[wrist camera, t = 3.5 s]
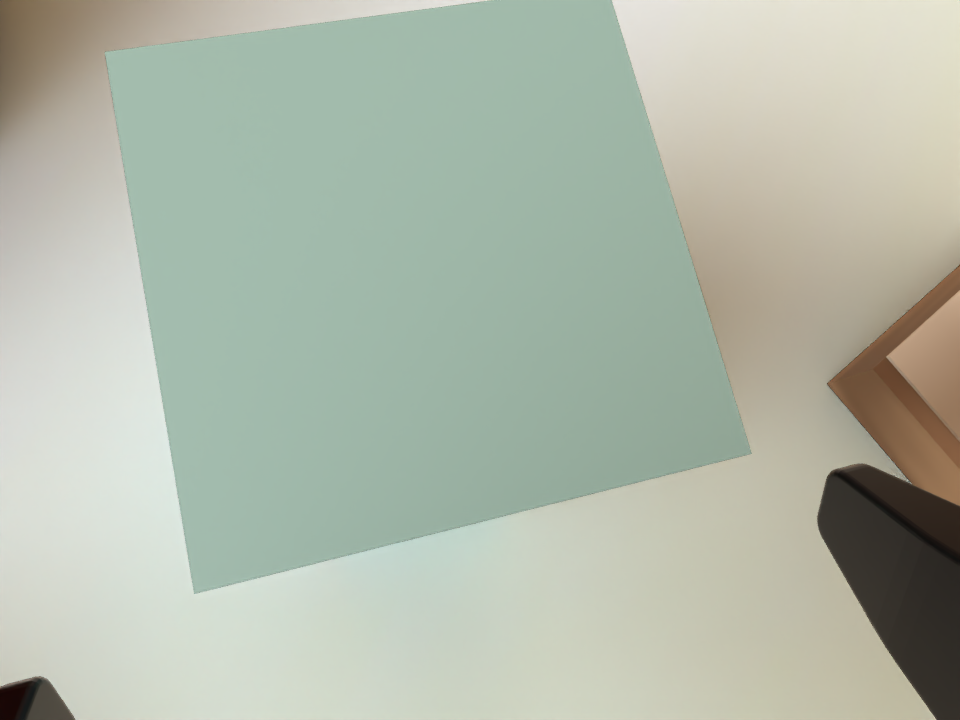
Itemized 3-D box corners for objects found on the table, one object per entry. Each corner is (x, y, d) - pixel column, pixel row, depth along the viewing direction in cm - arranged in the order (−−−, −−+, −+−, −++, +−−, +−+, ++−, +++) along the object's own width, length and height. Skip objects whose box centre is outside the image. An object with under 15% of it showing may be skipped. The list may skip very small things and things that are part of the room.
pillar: (507, 503, 19) (751, 454, 6) (327, 547, 18) (193, 594, 6) (465, 332, 20) (606, -14, 7) (291, 368, 19) (104, 52, 6)
